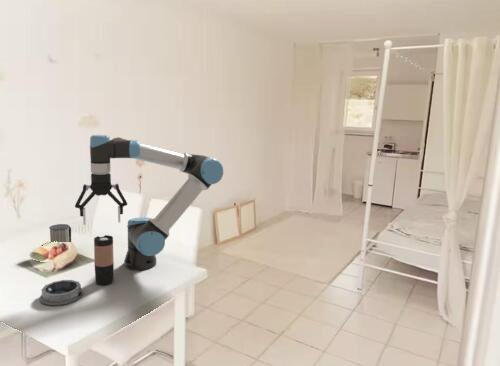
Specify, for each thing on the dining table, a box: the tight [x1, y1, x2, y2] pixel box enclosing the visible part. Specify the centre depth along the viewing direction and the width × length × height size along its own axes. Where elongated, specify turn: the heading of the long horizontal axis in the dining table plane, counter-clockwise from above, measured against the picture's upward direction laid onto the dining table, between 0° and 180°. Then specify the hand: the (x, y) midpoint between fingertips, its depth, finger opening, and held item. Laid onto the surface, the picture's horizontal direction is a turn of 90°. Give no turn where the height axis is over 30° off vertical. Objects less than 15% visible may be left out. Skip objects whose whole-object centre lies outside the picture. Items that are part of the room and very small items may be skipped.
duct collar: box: [39, 279, 84, 307], centre depth 148 cm, size 15×15×4 cm
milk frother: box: [41, 223, 72, 246], centre depth 191 cm, size 14×16×15 cm
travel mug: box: [93, 234, 115, 287], centre depth 161 cm, size 8×8×20 cm
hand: (102, 222), depth 158 cm, fingers open, 13 cm apart
